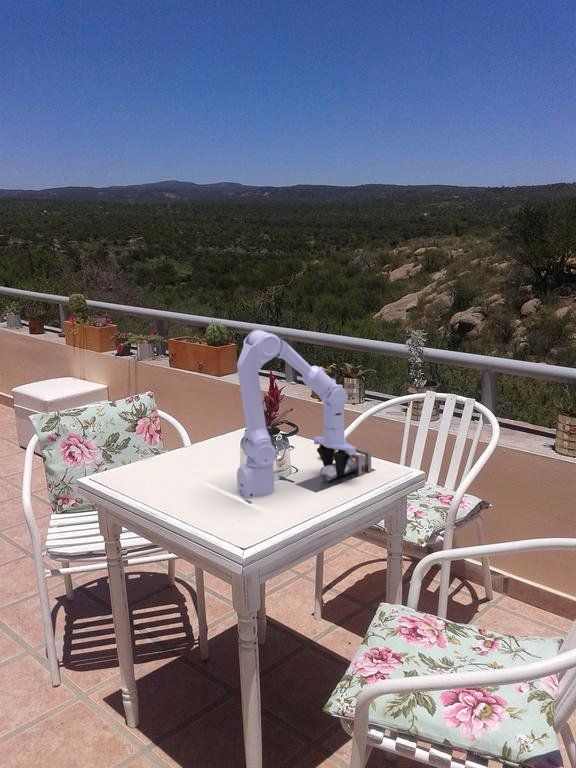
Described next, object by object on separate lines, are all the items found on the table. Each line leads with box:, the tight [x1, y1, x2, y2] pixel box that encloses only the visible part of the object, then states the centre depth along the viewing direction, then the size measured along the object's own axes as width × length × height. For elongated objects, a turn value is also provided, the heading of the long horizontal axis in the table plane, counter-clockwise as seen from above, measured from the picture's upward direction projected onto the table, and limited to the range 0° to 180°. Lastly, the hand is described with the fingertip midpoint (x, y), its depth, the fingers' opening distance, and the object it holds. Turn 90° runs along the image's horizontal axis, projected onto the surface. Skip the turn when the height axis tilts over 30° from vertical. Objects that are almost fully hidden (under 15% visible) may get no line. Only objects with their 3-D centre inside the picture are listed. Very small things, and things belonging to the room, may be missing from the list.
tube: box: [319, 453, 365, 481], centre depth 186 cm, size 15×4×4 cm, turn 131°
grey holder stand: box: [294, 447, 376, 493], centre depth 184 cm, size 24×9×7 cm, turn 131°
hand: (334, 473), depth 184 cm, fingers closed on tube, 4 cm apart
